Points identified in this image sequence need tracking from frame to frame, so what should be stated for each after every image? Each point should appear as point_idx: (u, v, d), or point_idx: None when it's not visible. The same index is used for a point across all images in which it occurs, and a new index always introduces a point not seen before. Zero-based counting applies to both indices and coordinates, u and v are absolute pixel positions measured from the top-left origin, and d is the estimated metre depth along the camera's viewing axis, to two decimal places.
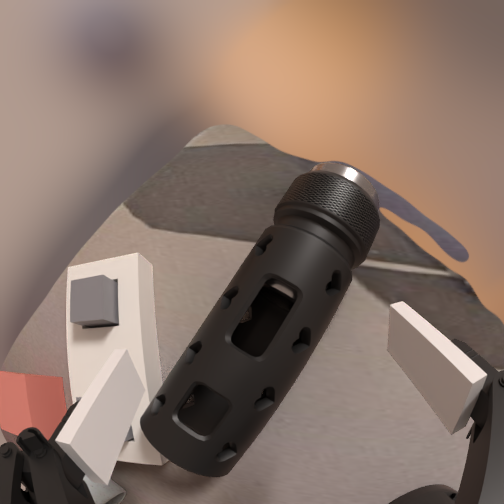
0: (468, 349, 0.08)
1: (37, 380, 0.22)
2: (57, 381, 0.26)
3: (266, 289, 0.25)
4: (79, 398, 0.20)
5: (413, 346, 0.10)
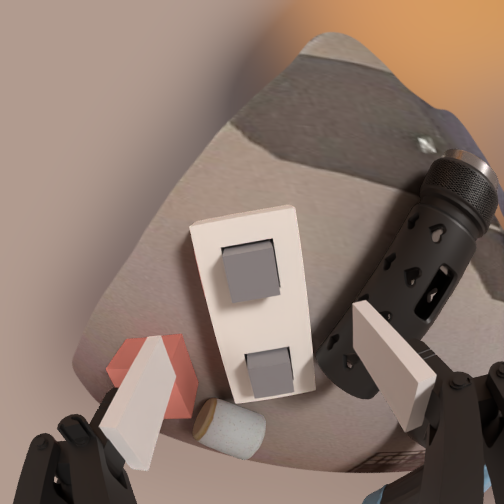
0: (426, 348, 0.09)
1: (174, 359, 0.28)
2: (181, 342, 0.32)
3: None
4: (251, 369, 0.27)
5: (371, 343, 0.11)
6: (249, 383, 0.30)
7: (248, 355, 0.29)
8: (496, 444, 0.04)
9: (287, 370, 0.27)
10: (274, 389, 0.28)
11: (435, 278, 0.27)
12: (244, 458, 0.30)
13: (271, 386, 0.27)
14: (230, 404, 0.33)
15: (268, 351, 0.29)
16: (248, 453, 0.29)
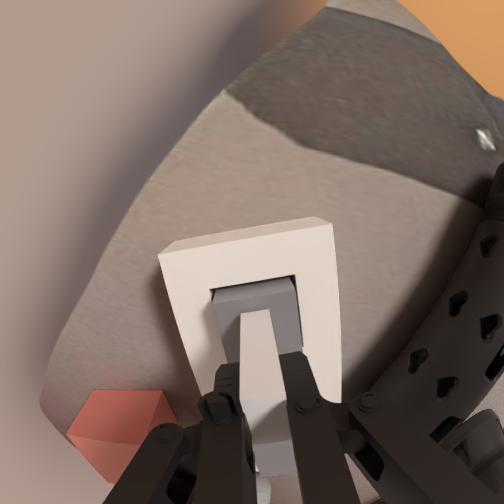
0: (305, 363, 0.10)
1: None
2: (161, 401, 0.21)
3: None
4: (258, 451, 0.16)
5: None
6: None
7: None
8: (383, 479, 0.05)
9: None
10: (287, 469, 0.17)
11: None
12: None
13: (284, 466, 0.17)
14: None
15: None
16: None
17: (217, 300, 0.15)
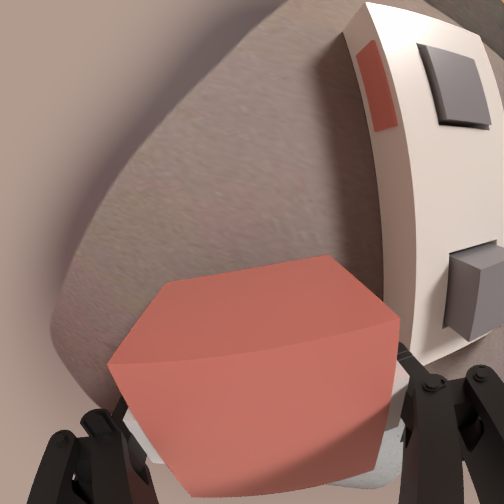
0: (404, 350, 0.09)
1: None
2: None
3: None
4: (484, 269, 0.10)
5: None
6: (441, 321, 0.14)
7: (453, 256, 0.13)
8: (477, 448, 0.04)
9: None
10: (495, 316, 0.11)
11: None
12: (379, 487, 0.14)
13: (494, 310, 0.11)
14: None
15: (475, 249, 0.13)
16: (392, 477, 0.13)
17: None
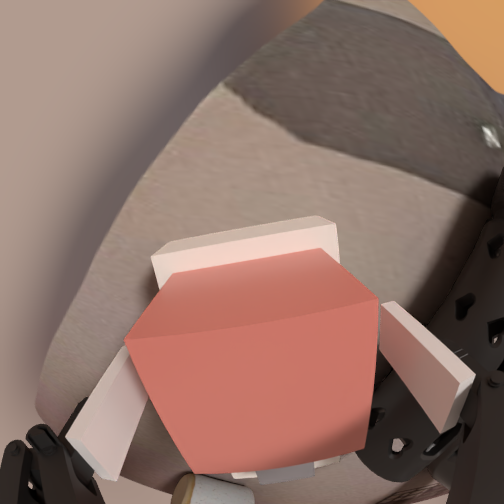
0: (458, 349, 0.08)
1: None
2: None
3: None
4: None
5: (403, 345, 0.10)
6: None
7: None
8: None
9: None
10: (288, 476, 0.16)
11: None
12: None
13: (284, 474, 0.16)
14: (211, 483, 0.22)
15: None
16: None
17: None
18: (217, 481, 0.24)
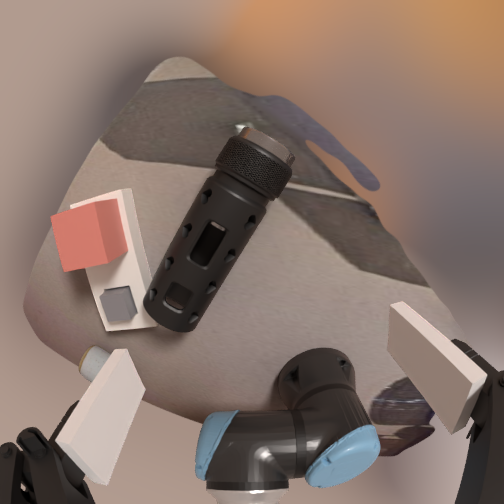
0: (468, 349, 0.08)
1: (102, 204, 0.33)
2: (114, 202, 0.36)
3: None
4: (101, 296, 0.38)
5: (413, 346, 0.10)
6: None
7: (106, 290, 0.41)
8: None
9: (121, 299, 0.38)
10: (117, 315, 0.39)
11: None
12: None
13: (115, 312, 0.39)
14: (102, 350, 0.45)
15: (118, 288, 0.41)
16: None
17: None
18: (107, 352, 0.46)
